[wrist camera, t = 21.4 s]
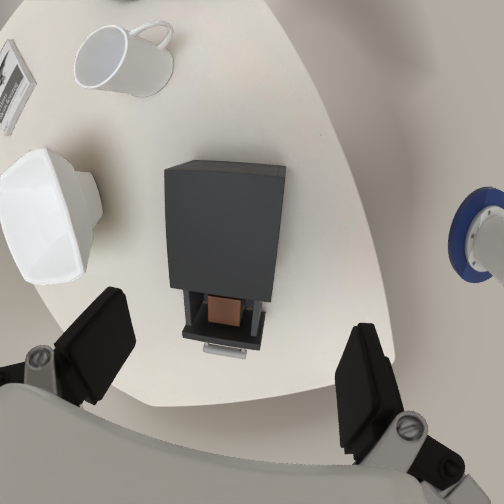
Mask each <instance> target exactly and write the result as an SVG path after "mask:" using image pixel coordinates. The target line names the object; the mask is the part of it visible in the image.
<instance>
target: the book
mask: <svg viewBox="0 0 504 504" xmlns="http://www.w3.org/2000/svg"><path fill="white" fill-rule="evenodd" d="M36 84H37V83H36V82H35V80H34V78H33V76H32V75H31V73H30V71H29V69H28V68H27V66H26V64H25V62H24V60H23V58H22V56H21V54H20V53H19V51H18V49H17V47H16V45H15V43H14V41H13V40H10V39H7V41H6V43H5V45H4V46H3V48H2V50H1V52H0V126H1V129H2V131H3V133H4V135H5V136H7V135H11V134H12V132H13V129H14V127H15V125H16V123H17V120H18V118H19V116H20V114H21V112H22V110H23V108H24V106H25V104H26V102H27V100H28V98H29V96H30V95H31V93H32V91H33V89H34V87H35V86H36Z"/></svg>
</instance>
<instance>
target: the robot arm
mask: <svg viewBox="0 0 504 504" xmlns="http://www.w3.org/2000/svg"><path fill="white" fill-rule="evenodd" d="M465 255H466V259H467V261H468V263H469V264H470V266H471V267H472V268H473V269H475V270H476V271H479V272H485V271H488V272H489V273H491V274H492V275H493V276H494V277H495V278H496V279H497V280H498V281H499V282H500V283H501V284H502V285H503V286H504V209H502V208H500V207H498V206H496V205H491V206H487V207H485V208H483V209H482V210H481V211H480V212H479V213H478V214H477V215H476V216H475V218H474V219H473V221H472V222H471V225H470V227H469V229H468V232H467V235H466V240H465ZM135 344H136V338H135V334H134V330H133V326H132V322H131V318H130V314H129V309H128V305H127V300H126V296H125V294H124V293H123V291H122V290H121V289H119V288H114V287H108V288H106V289H105V290H104V291H103V292H102V293H101V294H100V295H99V296H98V297H97V298H96V299H95V300H94V301H93V302H92V303H91V305H90V306H89V307H88V308H87V309H86V310H85V311H84V312H83V313H82V314H81V315H80V316H79V317H78V318H77V319H76V320H75V321H74V322H73V324H72V325H71V326H70V327H69V328H68V329H67V330H66V331H65V332H64V333H63V335H62V336H61V337H60V338H59V339H58V340H57V341H56V342H55V343H54V346H55V349H54V350H53V349H52V348H51V347H49V346H47V345H39V346H36V347H34V348H32V349H31V350H30V351H29V352H28V354H27V355H26V359H25V362H22V363H17V364H13V365H9V366H5V367H0V504H491V501H490V499H489V498H488V496H487V495H486V494H485V493H484V492H483V490H482V489H481V488H480V487H479V485H478V484H477V483H476V482H475V481H474V480H473V478H472V477H471V476H470V475H469V474H467V475H465V474H464V472H465V464H464V461H463V459H462V457H461V456H460V455H458V454H457V453H455V452H454V451H452V450H451V449H449V448H447V447H446V446H444V445H443V444H441V443H439V442H438V441H436V440H435V439H433V438H432V437H430V436H429V435H427V433H428V425H427V422H426V420H425V419H424V418H423V416H421V415H420V414H419V413H416V412H414V411H404V408H403V404H402V401H401V397H400V393H399V390H398V386H397V383H396V379H395V376H394V373H393V369H392V366H391V363H390V360H389V358H388V357H387V356H384V353H383V350H382V347H381V344H380V341H379V338H378V335H377V332H376V329H375V326H374V324H372V323H359V324H358V325H357V326H354V327H353V329H352V331H351V334H350V337H349V339H348V342H347V345H346V347H345V350H344V352H343V355H342V357H341V360H340V362H339V365H338V367H337V369H336V372H335V386H336V396H337V408H338V420H339V435H340V446H341V448H344V451H345V454H353V456H354V460H355V462H354V463H353V464H352V465H305V464H288V463H275V462H264V461H255V460H247V459H240V458H235V457H228V456H223V455H218V454H213V453H208V452H204V451H199V450H195V449H190V448H187V447H183V446H179V445H176V444H172V443H169V442H165V441H162V440H159V439H156V438H153V437H149V436H146V435H144V434H141V433H138V432H135V431H132V430H130V429H127V428H125V427H122V426H120V425H117V424H115V423H112V422H110V421H107V420H105V419H103V418H101V417H98V416H96V415H94V414H92V413H90V412H88V411H86V410H83V405H82V403H83V401H84V400H85V401H87V402H88V403H91V404H93V405H96V403H97V402H98V401H100V400H101V399H102V398H103V396H104V395H105V393H106V392H107V390H108V388H109V386H110V385H111V383H112V382H113V380H114V378H115V377H116V375H117V374H118V372H119V370H120V369H121V367H122V366H123V364H124V362H125V361H126V359H127V358H128V356H129V355H130V353H131V351H132V350H133V348H134V347H135Z"/></svg>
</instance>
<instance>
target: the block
mask: <svg viewBox="0 0 504 504" xmlns="http://www.w3.org/2000/svg"><path fill="white" fill-rule="evenodd" d="M244 306H245V299H241V298H234V297H227V296H220V295H213V294H208V321H209V322H214V323H221V324H227V325H233V326H240V323H241V319H242V315H243V311H244Z"/></svg>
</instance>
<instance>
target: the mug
mask: <svg viewBox="0 0 504 504" xmlns="http://www.w3.org/2000/svg"><path fill="white" fill-rule="evenodd" d="M155 26H166V27H168V29H169V31H168V34H167V36H166V38H165V39H164V40H163V41H162V42H161V43H160V44H159V45H155V44H153V43H152V42H150V41H148V40H146V39H144V38H142V37H140V36H138V34H139V33H141V32H142V31H144V30H146V29H149V28H151V27H155ZM172 36H173V27H172V26H171V25H170V24H169V23H168V22H165V21H152V22H148V23H145V24H142V25H140V26H138V27H136V28H135V29H133V30H131V31H128V30H126V29H124V28H122V27H119V26H116V25H107V26H103V27H101V28H99V29H97V30H95V31H94V32H93V33H91V34H90V35H89V36H88V37H87V38H86V39H85V41H84V42H83V43H82V45H81V46H80V48H79V50H78V52H77V54H76V57H75V60H74V67H73V71H74V77H75V79H76V81H77V83H78V84H79V85H80V86H82V87H83V88H87V89H96V90H105V91H113V92H120V93H127V94H131V95H133V96H136V97H147V96H151V95H153V94H155V93H157V92H158V91H160V90H161V89H162V88H163V87H164V86H165V85H166V84H167V82H168V81H169V79H170V77H171V75H172V71H173V58H172V55H171V54H170V52H169V51H168V50H167V49H166V48H165V47H166V45H167V44H168V43H169V42H170V40H171V39H172Z"/></svg>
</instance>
